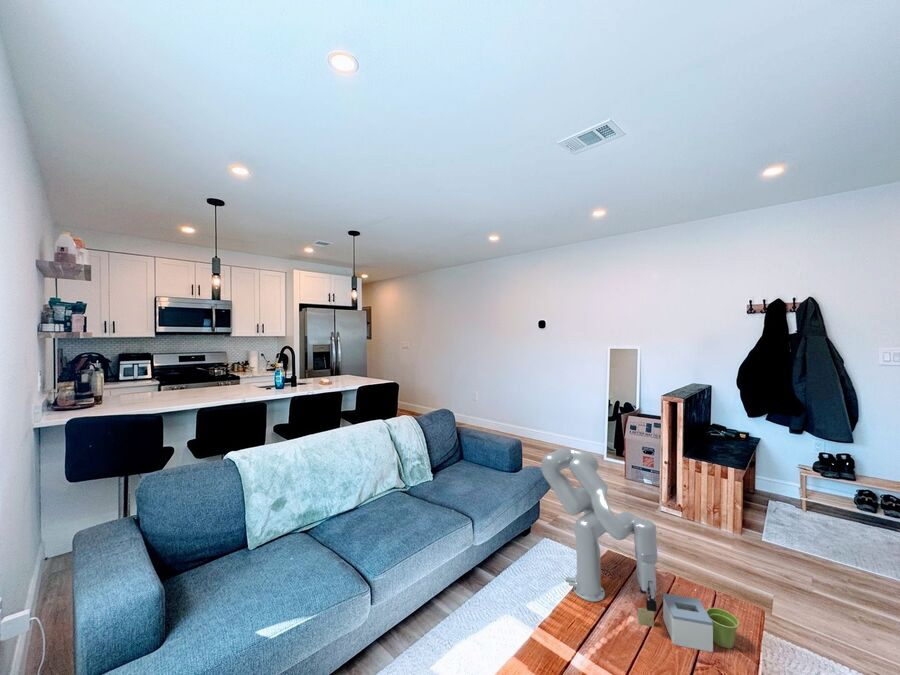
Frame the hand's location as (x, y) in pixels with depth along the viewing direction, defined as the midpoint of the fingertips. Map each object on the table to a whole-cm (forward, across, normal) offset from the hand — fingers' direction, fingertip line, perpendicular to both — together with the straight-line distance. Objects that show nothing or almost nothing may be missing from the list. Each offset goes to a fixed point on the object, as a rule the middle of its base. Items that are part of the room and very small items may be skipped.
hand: (648, 601), depth 137 cm
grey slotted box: (+9, +1, +12) cm, 15 cm away
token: (+9, -1, -1) cm, 9 cm away
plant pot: (+10, +1, +23) cm, 25 cm away
